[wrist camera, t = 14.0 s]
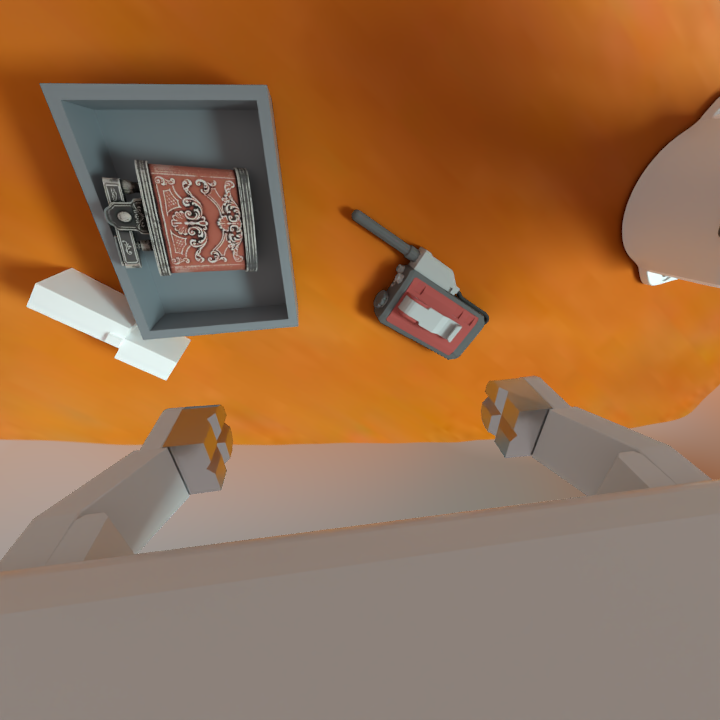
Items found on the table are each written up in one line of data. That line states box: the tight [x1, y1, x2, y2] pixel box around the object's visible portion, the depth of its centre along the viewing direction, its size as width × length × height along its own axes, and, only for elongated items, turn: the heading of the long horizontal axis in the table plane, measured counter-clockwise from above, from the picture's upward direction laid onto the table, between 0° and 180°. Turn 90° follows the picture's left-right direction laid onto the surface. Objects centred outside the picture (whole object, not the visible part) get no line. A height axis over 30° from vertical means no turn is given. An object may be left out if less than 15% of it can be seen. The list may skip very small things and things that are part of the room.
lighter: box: [102, 160, 257, 276], centre depth 26 cm, size 8×3×10 cm
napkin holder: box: [26, 268, 191, 380], centre depth 31 cm, size 15×11×6 cm
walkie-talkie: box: [352, 210, 489, 360], centre depth 35 cm, size 9×4×20 cm
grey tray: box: [39, 83, 298, 340], centre depth 27 cm, size 14×18×5 cm
